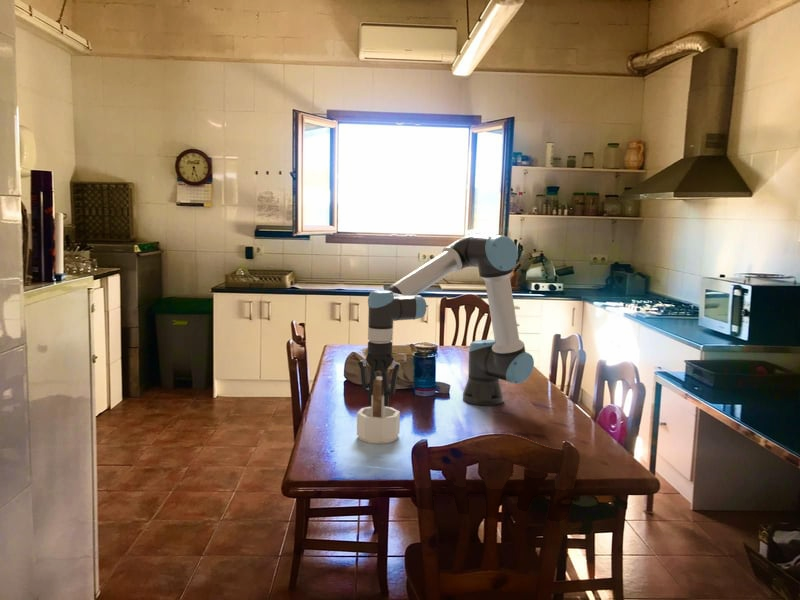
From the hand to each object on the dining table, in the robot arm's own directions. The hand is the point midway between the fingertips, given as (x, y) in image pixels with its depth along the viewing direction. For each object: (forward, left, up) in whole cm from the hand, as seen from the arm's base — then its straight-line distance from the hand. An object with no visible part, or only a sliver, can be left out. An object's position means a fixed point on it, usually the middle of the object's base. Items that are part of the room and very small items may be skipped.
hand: (378, 415), depth 202 cm
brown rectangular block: (0, 0, 0) cm, 0 cm away
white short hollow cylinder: (0, 0, -7) cm, 7 cm away
